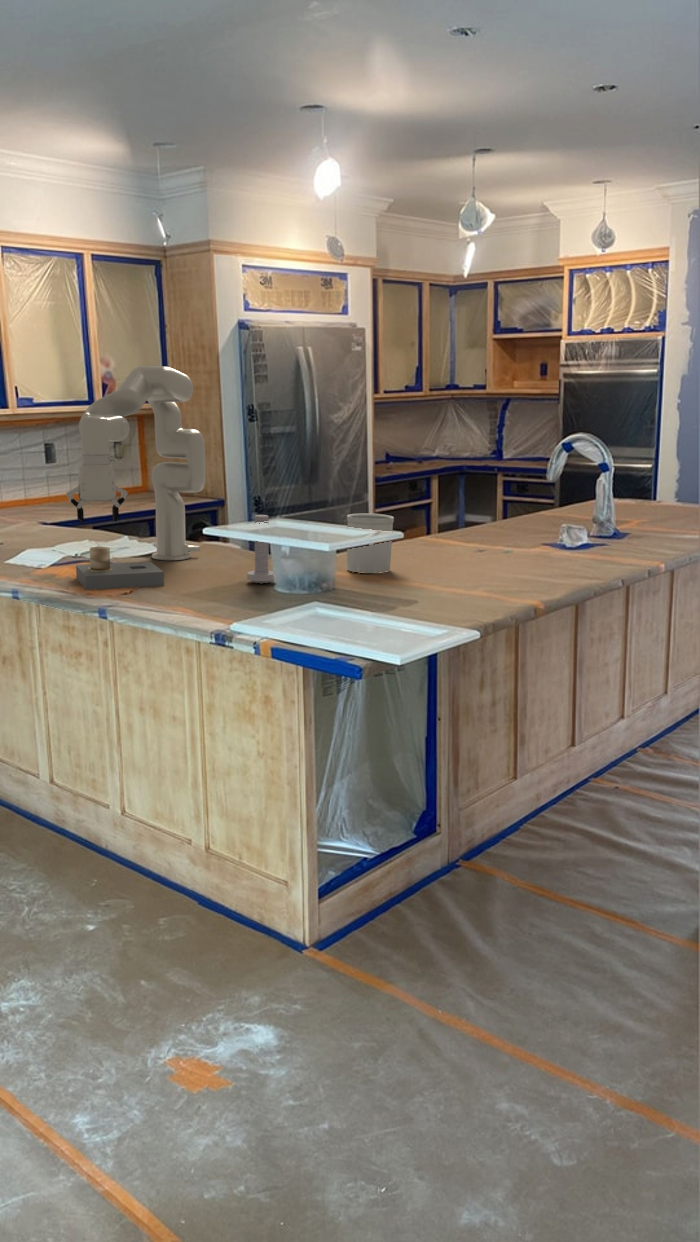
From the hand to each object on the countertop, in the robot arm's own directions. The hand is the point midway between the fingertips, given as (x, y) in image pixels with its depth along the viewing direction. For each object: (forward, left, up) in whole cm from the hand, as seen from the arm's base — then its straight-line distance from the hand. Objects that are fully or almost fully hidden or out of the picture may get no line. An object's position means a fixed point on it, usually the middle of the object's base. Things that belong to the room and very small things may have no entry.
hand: (98, 521), depth 288 cm
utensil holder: (-83, +5, -18) cm, 86 cm away
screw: (-44, +14, -18) cm, 50 cm away
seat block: (-5, 0, -18) cm, 19 cm away
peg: (0, 0, -17) cm, 17 cm away
